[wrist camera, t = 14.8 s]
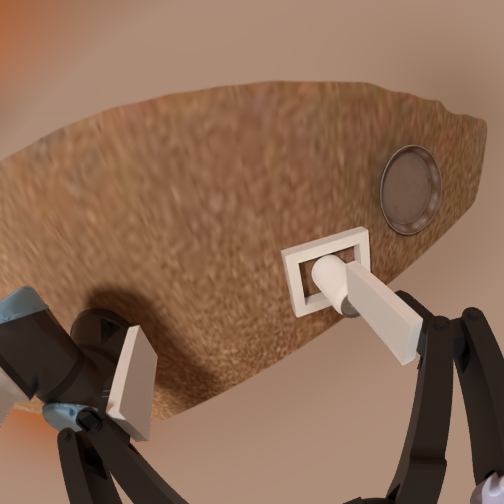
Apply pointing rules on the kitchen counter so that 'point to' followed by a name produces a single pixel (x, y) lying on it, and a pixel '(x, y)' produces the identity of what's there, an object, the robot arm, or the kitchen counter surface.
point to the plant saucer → (410, 189)
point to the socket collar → (316, 249)
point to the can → (334, 284)
